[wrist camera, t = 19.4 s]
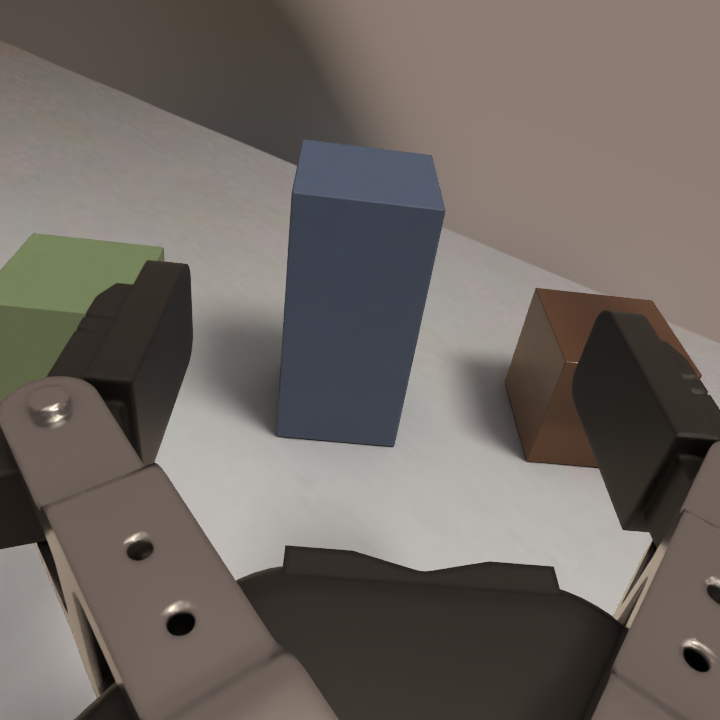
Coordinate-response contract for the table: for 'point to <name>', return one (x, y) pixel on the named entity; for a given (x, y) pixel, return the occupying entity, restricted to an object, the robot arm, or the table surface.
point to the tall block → (355, 289)
